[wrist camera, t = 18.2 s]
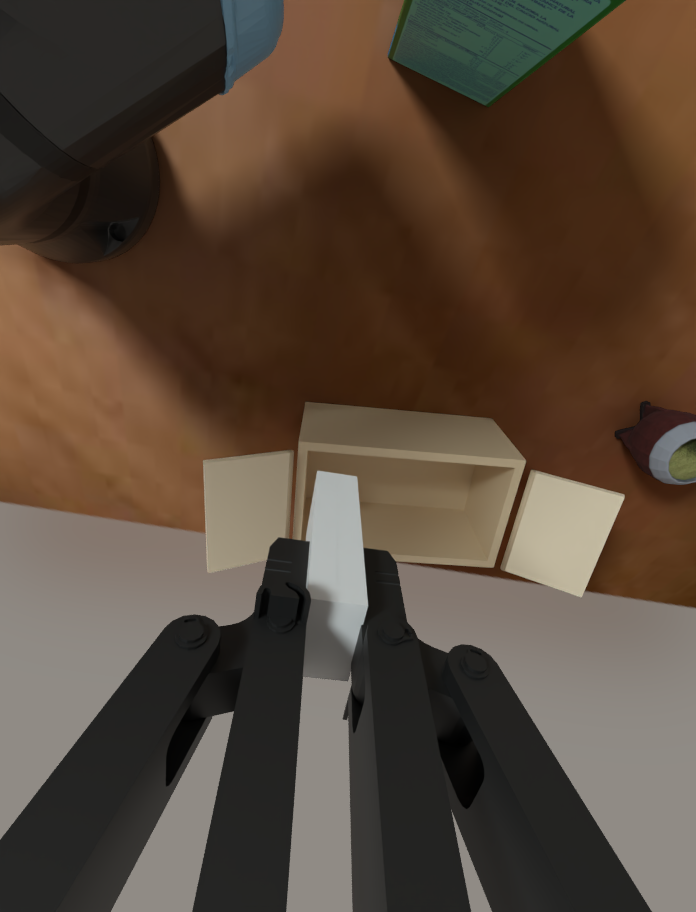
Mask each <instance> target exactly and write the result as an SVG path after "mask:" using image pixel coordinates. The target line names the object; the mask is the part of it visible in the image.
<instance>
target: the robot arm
mask: <svg viewBox="0 0 696 912" xmlns="http://www.w3.org/2000/svg"><path fill="white" fill-rule="evenodd" d="M283 20H284V4H283V0H0V245H13V244H17V245H19V246H21V247H23V248H25V249H28V250H30V251H32V252H34V253H36V254H38V255H41V256H43V257H46V258H49V259H53V260H57V261H62V262H68V263H89V262H97V261H103V260H107V259H111V258H114V257H116V256H118V255H121V254H123V253H124V252H126V251H127V250H129V249H130V248H132V247H133V246H134V245H135V244H136V243H137V242H138V241H139V240H140V239H141V238H142V236H143V235H144V234H145V232H146V231H147V229H148V227H149V226H150V224H151V222H152V219H153V217H154V214H155V211H156V207H157V203H158V198H159V187H160V177H159V166H158V160H157V155H156V151H155V147H154V144H153V141H152V138H151V137H152V136H154V135H155V134H157V133H158V132H160V131H161V130H163V129H164V128H166V127H168V126H169V125H171V124H172V123H174V122H175V121H177V120H178V119H180V118H181V117H183V116H185V115H186V114H188V113H189V112H191V111H192V110H194V109H195V108H197V107H199V106H200V105H202V104H203V103H205V102H206V101H208V100H209V99H211V98H213V97H214V96H216V95H217V94H219V95H224V94H226V93H228V91H229V89H231V88H232V87H233V85H234V82H235V81H236V80H237V79H239V78H240V77H241V76H243V75H244V74H245V73H247V72H248V71H250V70H251V69H252V68H254V67H255V66H256V65H258V64H259V63H260V62H262V61H263V60H265V59H266V58H267V57H268V56H269V55H270V54H271V53H272V52H273V50H274V49H275V47H276V45H277V41H278V38H279V37H280V35H281V31H282V27H283ZM350 672H351V677H352V678H351V679H352V686H351V689H350V693H349V697H348V700H347V704H346V707H345V711H344V716H343V719H344V720H347V718H348V721H349V765H350V808H351V809H350V812H351V852H352V853H351V855H352V902H353V912H471V909H470V904H469V899H468V894H467V889H466V883H465V878H464V873H463V868H462V863H461V858H460V853H459V848H458V843H457V837H456V832H455V827H454V822H453V817H452V812H453V815H454V817H455V819H456V822H457V825H458V827H459V829H460V832H461V835H462V837H463V840H464V842H465V845H466V847H467V850H468V852H469V855H470V857H471V860H472V862H473V865H474V867H475V870H476V872H477V875H478V877H479V880H480V882H481V884H482V887H483V890H484V892H485V895H486V897H487V900H488V902H489V905H490V907H491V910H492V912H652V911H651V910H650V908H649V907H648V905H647V903H646V902H645V900H644V899H643V897H642V895H641V894H640V892H639V891H638V889H637V888H636V886H635V884H634V883H633V881H632V879H631V878H630V876H629V874H628V873H627V871H626V870H625V868H624V867H623V865H622V863H621V862H620V860H619V859H618V857H617V855H616V854H615V852H614V851H613V849H612V847H611V846H610V844H609V842H608V841H607V839H606V838H605V836H604V835H603V833H602V831H601V830H600V828H599V826H598V825H597V823H596V822H595V820H594V818H593V817H592V815H591V814H590V812H589V810H588V809H587V807H586V806H585V804H584V802H583V801H582V799H581V798H580V796H579V794H578V793H577V791H576V790H575V788H574V786H573V785H572V783H571V781H570V780H569V778H568V777H567V775H566V774H565V772H564V770H563V769H562V767H561V765H560V764H559V762H558V761H557V759H556V757H555V756H554V754H553V753H552V751H551V750H550V748H549V746H548V745H547V743H546V741H545V740H544V738H543V737H542V735H541V734H540V732H539V730H538V729H537V727H536V725H535V724H534V723H533V721H532V719H531V717H530V716H529V714H528V713H527V711H526V709H525V708H524V706H523V704H522V703H521V701H520V700H519V698H518V696H517V695H516V693H515V692H514V690H513V689H512V687H511V685H510V684H509V682H508V681H507V679H506V677H505V676H504V674H503V672H502V671H501V669H500V668H499V666H498V664H497V663H496V662H495V661H494V660H493V658H492V657H491V656H490V655H489V654H487V653H486V652H484V651H483V650H482V649H480V648H477V647H474V646H472V645H458V646H455V647H453V649H451V651H450V652H449V653H446V652H444V651H441V650H438V649H436V648H434V647H431V646H429V645H427V644H425V643H424V642H422V641H421V640H419V639H418V638H417V635H416V633H415V631H414V629H413V628H412V627H411V626H410V625H409V624H408V623H407V619H406V614H405V608H404V603H403V597H402V592H401V587H400V580H399V576H398V569H397V564H396V561H395V560H394V558H393V557H392V556H391V554H390V553H389V552H388V551H385V550H378V549H370V548H363V540H362V528H361V516H360V504H359V492H358V481H357V476H351V475H344V474H337V473H331V472H324V471H317V475H316V480H315V486H314V492H313V498H312V503H311V509H310V515H309V521H308V526H307V533H306V541H303V540H295V539H288V538H280V537H278V538H277V539H276V540H275V542H274V543H273V544H272V545H271V546H270V548H269V553H268V558H267V562H266V567H265V572H264V577H263V582H262V585H261V586H260V588H259V590H258V592H257V595H256V602H255V610H254V613H253V614H252V615H251V616H250V617H248V618H247V619H246V620H244V621H242V622H239V623H236V624H232V625H227V626H220V627H219V626H218V625H217V624H216V623H215V622H214V620H212V619H210V618H208V617H206V616H201V615H188V616H182V617H180V618H178V619H176V620H173V621H172V622H171V623H170V624H169V625H167V626H166V627H165V628H164V630H163V631H162V632H161V633H160V635H159V636H158V637H157V639H156V640H155V641H154V643H153V644H152V645H151V646H150V648H149V649H148V650H147V652H146V653H145V654H144V655H143V657H142V658H141V659H140V661H139V662H138V663H137V665H136V666H135V667H134V668H133V670H132V671H131V672H130V673H129V675H128V676H127V677H126V679H125V680H124V681H123V682H122V684H121V685H120V687H119V688H118V689H117V690H116V691H115V693H114V694H113V695H112V697H111V698H110V699H109V700H108V702H107V703H106V704H105V706H104V707H103V708H102V710H101V711H100V712H99V713H98V715H97V716H96V717H95V718H94V720H93V721H92V722H91V724H90V725H89V726H88V728H87V729H86V730H85V731H84V733H83V734H82V735H81V737H80V738H79V739H78V740H77V742H76V743H75V744H74V746H73V747H72V748H71V749H70V751H69V752H68V753H67V755H66V756H65V757H64V758H63V760H62V761H61V762H60V764H59V765H58V766H57V768H56V769H55V770H54V771H53V773H52V774H51V775H50V776H49V778H48V779H47V780H46V782H45V783H44V784H43V785H42V787H41V788H40V789H39V791H38V792H37V793H36V795H35V796H34V797H33V798H32V800H31V801H30V802H29V804H28V805H27V806H26V807H25V809H24V810H23V811H22V813H21V814H20V815H19V816H18V818H17V819H16V820H15V822H14V823H13V824H12V825H11V827H10V828H9V830H8V831H7V832H6V833H5V834H4V836H3V837H2V838H1V840H0V912H111V910H112V908H113V906H114V904H115V902H116V900H117V898H118V896H119V895H120V893H121V891H122V889H123V887H124V885H125V883H126V881H127V879H128V877H129V875H130V873H131V871H132V870H133V868H134V866H135V864H136V862H137V860H138V858H139V856H140V854H141V853H142V851H143V849H144V847H145V845H146V843H147V841H148V839H149V837H150V835H151V833H152V832H153V830H154V828H155V826H156V824H157V822H158V820H159V818H160V816H161V814H162V813H163V811H164V809H165V807H166V805H167V803H168V801H169V799H170V797H171V795H172V793H173V792H174V790H175V788H176V786H177V784H178V782H179V780H180V778H181V776H182V774H183V772H184V771H185V769H186V767H187V765H188V763H189V761H190V759H191V757H192V755H193V753H194V752H195V750H196V748H197V746H198V744H199V742H200V740H201V738H202V736H203V734H204V732H205V730H206V729H207V727H208V725H209V723H210V721H211V719H212V716H214V715H219V714H223V713H228V712H232V711H234V714H233V719H232V724H231V729H230V733H229V739H228V743H227V748H226V752H225V757H224V763H223V767H222V772H221V777H220V781H219V786H218V791H217V796H216V801H215V805H214V811H213V815H212V820H211V825H210V829H209V834H208V839H207V844H206V849H205V854H204V858H203V864H202V868H201V873H200V878H199V882H198V887H197V892H196V897H195V901H194V906H193V912H286V904H287V891H288V877H289V863H290V849H291V835H292V820H293V807H294V793H295V779H296V764H297V750H298V736H299V723H300V707H301V695H302V694H301V693H302V681H303V680H302V679H303V677H312V678H322V679H331V680H341V681H348V679H349V676H350ZM451 810H452V812H451Z"/></svg>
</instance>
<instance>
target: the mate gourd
mask: <svg viewBox="0 0 696 912" xmlns="http://www.w3.org/2000/svg"><path fill="white" fill-rule="evenodd" d="M615 437H616V438H617V439H619V438H621V439H622V441H623V443H624V444H625V446H626V447H627V448H628V449H629V450H630V452H631V455H632V456H633V458H634V459H635V461H636V463H637V465H638V466H639V468H640V469H641V470H642V471H644V472H645V473H647V474H648V475H650V476H652V477H653V478H655V479H657V480H659V481H662V482H663V483H668V484H676V485H684V484H689V483H694V482H696V415H694V414H691V413H687V412H680V411H675V410H666V409H664V408H661V407H655V406H650V402H648V401H645V402H642V403H641V405H640V422H639V423H638V424H637V425H636V426H634V427H630V428H625V429H621V430H618V431H615Z"/></svg>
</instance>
